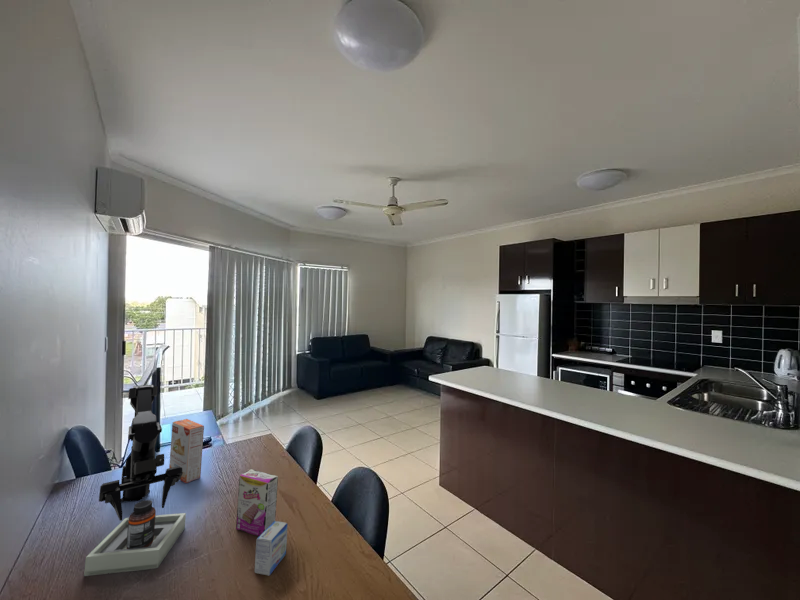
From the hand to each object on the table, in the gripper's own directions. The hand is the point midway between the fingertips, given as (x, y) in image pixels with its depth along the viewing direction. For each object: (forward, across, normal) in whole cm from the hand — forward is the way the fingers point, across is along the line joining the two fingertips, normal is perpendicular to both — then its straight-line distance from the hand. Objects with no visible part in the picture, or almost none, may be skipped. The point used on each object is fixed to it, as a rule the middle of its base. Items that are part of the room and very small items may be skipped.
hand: (142, 513), depth 89 cm
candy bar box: (+15, +27, -1) cm, 31 cm away
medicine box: (+26, +26, -13) cm, 39 cm away
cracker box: (-21, +16, +35) cm, 44 cm away
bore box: (+7, 0, +6) cm, 9 cm away
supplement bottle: (+6, 0, +6) cm, 9 cm away
